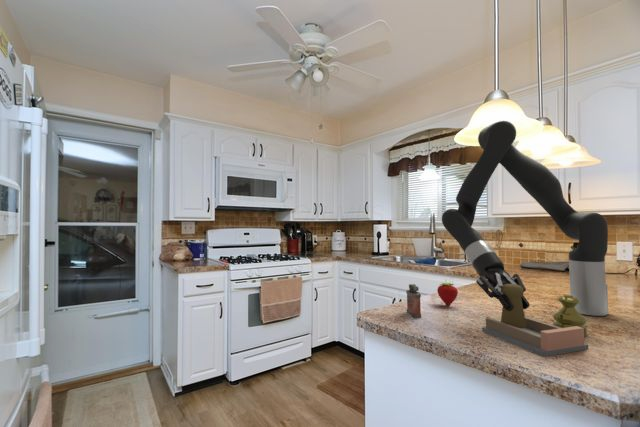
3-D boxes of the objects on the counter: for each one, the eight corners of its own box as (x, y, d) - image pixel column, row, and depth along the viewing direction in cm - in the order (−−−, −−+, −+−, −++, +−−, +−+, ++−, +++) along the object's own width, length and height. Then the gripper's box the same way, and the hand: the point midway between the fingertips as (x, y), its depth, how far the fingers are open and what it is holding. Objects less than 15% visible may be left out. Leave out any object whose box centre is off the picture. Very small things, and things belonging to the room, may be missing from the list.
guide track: (521, 326, 93) (520, 308, 93) (588, 348, 75) (587, 327, 76) (482, 331, 89) (481, 313, 89) (543, 356, 72) (542, 333, 72)
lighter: (404, 311, 109) (404, 282, 110) (414, 311, 110) (413, 282, 110) (413, 318, 101) (412, 287, 102) (423, 318, 102) (422, 286, 102)
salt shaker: (582, 329, 89) (580, 293, 89) (591, 338, 82) (590, 299, 83) (550, 326, 92) (549, 291, 92) (557, 334, 85) (555, 297, 86)
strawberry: (451, 309, 111) (451, 280, 112) (433, 305, 118) (433, 278, 118) (462, 306, 115) (461, 279, 115) (443, 302, 121) (443, 276, 121)
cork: (530, 328, 84) (529, 286, 84) (505, 327, 85) (504, 286, 85) (520, 321, 89) (519, 282, 90) (497, 320, 91) (496, 282, 91)
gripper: (470, 251, 93) (505, 303, 81) (509, 250, 97) (548, 298, 85) (458, 267, 98) (489, 318, 86) (495, 265, 102) (530, 313, 90)
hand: (518, 308), depth 85 cm, fingers closed on cork, 4 cm apart
